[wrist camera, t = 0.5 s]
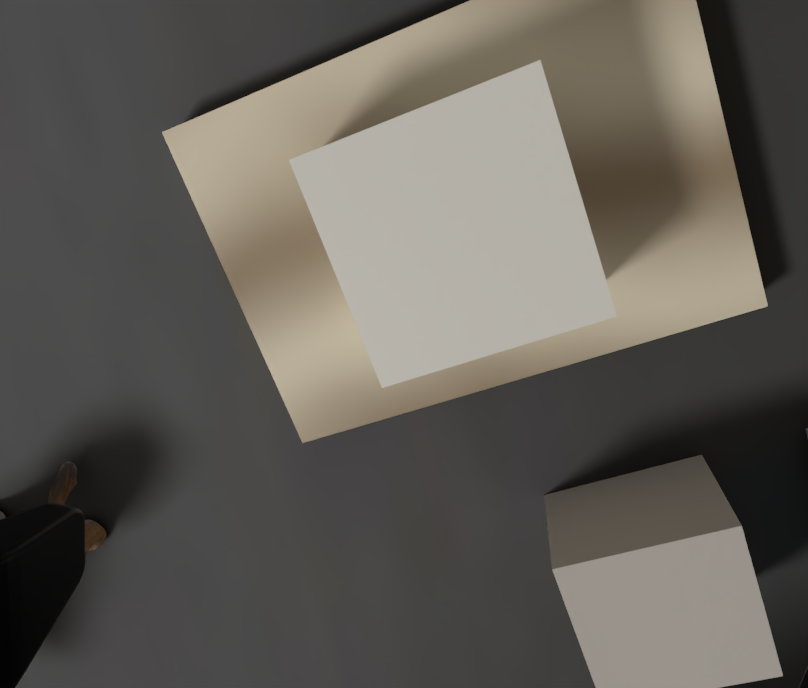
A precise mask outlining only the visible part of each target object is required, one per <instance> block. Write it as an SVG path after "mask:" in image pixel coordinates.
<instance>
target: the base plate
mask: <svg viewBox="0 0 808 688" xmlns="http://www.w3.org/2000/svg"><path fill="white" fill-rule="evenodd" d="M538 60H541V63H542V66H543V70H544V73H545V77H546V80H547V83H548V87H549V90H550V93H551V97H552V100H553V103H554V107H555V110H556V113H557V117H558V120H559V123H560V127H561V130H562V134H563V137H564V140H565V144H566V147H567V150H568V154H569V157H570V160H571V164H572V167H573V170H574V174H575V177H576V180H577V184H578V187H579V191H580V194H581V197H582V201H583V204H584V207H585V211H586V214H587V217H588V221H589V224H590V227H591V231H592V234H593V237H594V241H595V244H596V247H597V251H598V254H599V258H600V261H601V264H602V268H603V271H604V274H605V278H606V281H607V284H608V288H609V291H610V294H611V298H612V301H613V304H614V308H615V311H616V315H617V317H613V318H610V319H607V320H604V321H600V322H597V323H594V324H590V325H587V326H584V327H581V328H577V329H574V330H571V331H568V332H564V333H561V334H558V335H554V336H551V337H548V338H545V339H541V340H538V341H535V342H531V343H528V344H525V345H522V346H518V347H515V348H512V349H509V350H505V351H502V352H499V353H495V354H492V355H489V356H486V357H482V358H479V359H476V360H472V361H469V362H466V363H463V364H459V365H456V366H453V367H450V368H446V369H443V370H440V371H436V372H433V373H430V374H427V375H423V376H420V377H417V378H413V379H410V380H407V381H404V382H400V383H397V384H394V385H391V386H387V387H384V388H382V387H381V385H380V382H379V380H378V377H377V375H376V372H375V370H374V368H373V365H372V363H371V360H370V358H369V355H368V353H367V350H366V348H365V346H364V343H363V341H362V338H361V336H360V333H359V331H358V328H357V326H356V323H355V321H354V319H353V316H352V314H351V311H350V309H349V306H348V304H347V301H346V299H345V297H344V294H343V292H342V289H341V287H340V284H339V282H338V279H337V277H336V274H335V272H334V270H333V267H332V265H331V262H330V260H329V257H328V255H327V252H326V250H325V248H324V245H323V243H322V240H321V238H320V235H319V233H318V230H317V228H316V225H315V223H314V221H313V218H312V216H311V213H310V211H309V208H308V206H307V203H306V201H305V199H304V196H303V194H302V191H301V189H300V186H299V184H298V181H297V179H296V177H295V174H294V172H293V169H292V167H291V164H290V162H289V160H290V159H292V158H295V157H298V156H300V155H303V154H305V153H308V152H310V151H313V150H315V149H318V148H320V147H323V146H325V145H328V144H330V143H333V142H335V141H338V140H340V139H343V138H345V137H348V136H350V135H353V134H355V133H358V132H360V131H363V130H365V129H368V128H370V127H373V126H375V125H378V124H380V123H383V122H385V121H388V120H390V119H393V118H395V117H398V116H400V115H403V114H405V113H408V112H410V111H413V110H415V109H418V108H420V107H423V106H425V105H428V104H431V103H433V102H436V101H438V100H441V99H443V98H446V97H448V96H451V95H453V94H456V93H458V92H461V91H463V90H466V89H468V88H471V87H473V86H476V85H478V84H481V83H483V82H486V81H488V80H491V79H493V78H496V77H498V76H501V75H503V74H506V73H508V72H511V71H513V70H516V69H518V68H521V67H523V66H526V65H528V64H531V63H533V62H536V61H538ZM162 134H163V136H164V138H165V140H166V142H167V145H168V147H169V149H170V151H171V154H172V156H173V158H174V160H175V162H176V165H177V167H178V169H179V171H180V173H181V176H182V178H183V180H184V182H185V184H186V187H187V189H188V191H189V193H190V195H191V198H192V200H193V202H194V204H195V207H196V209H197V211H198V213H199V215H200V218H201V220H202V222H203V224H204V226H205V229H206V231H207V233H208V235H209V237H210V240H211V242H212V244H213V246H214V248H215V251H216V253H217V255H218V257H219V260H220V262H221V264H222V266H223V268H224V271H225V273H226V275H227V277H228V279H229V282H230V284H231V286H232V288H233V290H234V293H235V295H236V297H237V299H238V301H239V304H240V306H241V308H242V310H243V312H244V315H245V317H246V319H247V321H248V324H249V326H250V328H251V330H252V332H253V335H254V337H255V339H256V341H257V343H258V346H259V348H260V350H261V352H262V354H263V357H264V359H265V361H266V363H267V365H268V368H269V370H270V372H271V374H272V377H273V379H274V381H275V383H276V385H277V388H278V390H279V392H280V394H281V396H282V399H283V401H284V403H285V405H286V407H287V410H288V412H289V414H290V416H291V418H292V421H293V423H294V425H295V427H296V430H297V432H298V434H299V436H300V438H301V441H302V443H304V442H308V441H311V440H315V439H318V438H321V437H325V436H328V435H332V434H335V433H338V432H342V431H345V430H349V429H352V428H355V427H359V426H362V425H366V424H369V423H372V422H376V421H379V420H383V419H386V418H389V417H393V416H396V415H400V414H403V413H406V412H410V411H413V410H417V409H420V408H423V407H427V406H430V405H434V404H437V403H440V402H444V401H447V400H451V399H454V398H457V397H461V396H464V395H468V394H471V393H474V392H478V391H481V390H485V389H488V388H491V387H495V386H498V385H502V384H505V383H508V382H512V381H515V380H519V379H522V378H525V377H529V376H532V375H536V374H539V373H542V372H546V371H549V370H553V369H556V368H559V367H563V366H566V365H570V364H573V363H576V362H580V361H583V360H587V359H590V358H593V357H597V356H600V355H604V354H607V353H610V352H614V351H617V350H621V349H624V348H628V347H631V346H634V345H638V344H641V343H645V342H648V341H651V340H655V339H658V338H662V337H665V336H668V335H672V334H675V333H679V332H682V331H685V330H689V329H692V328H696V327H699V326H702V325H706V324H709V323H713V322H716V321H719V320H723V319H726V318H730V317H733V316H736V315H740V314H743V313H747V312H750V311H753V310H757V309H760V308H764V307H767V306H768V304H767V300H766V296H765V292H764V287H763V283H762V279H761V275H760V270H759V266H758V262H757V258H756V253H755V249H754V245H753V241H752V236H751V232H750V228H749V223H748V219H747V215H746V211H745V206H744V202H743V198H742V194H741V189H740V185H739V181H738V177H737V172H736V168H735V164H734V160H733V155H732V151H731V147H730V143H729V138H728V134H727V130H726V125H725V121H724V117H723V113H722V108H721V104H720V100H719V96H718V91H717V87H716V83H715V79H714V74H713V70H712V66H711V62H710V57H709V53H708V49H707V44H706V40H705V36H704V32H703V27H702V23H701V19H700V15H699V10H698V6H697V2H696V0H470V1H467V2H465V3H463V4H460V5H458V6H456V7H453V8H451V9H449V10H446V11H444V12H442V13H439V14H437V15H435V16H432V17H430V18H428V19H425V20H423V21H421V22H418V23H416V24H414V25H411V26H409V27H407V28H404V29H402V30H400V31H397V32H395V33H393V34H390V35H388V36H386V37H383V38H381V39H379V40H376V41H374V42H372V43H369V44H367V45H365V46H362V47H360V48H358V49H355V50H353V51H351V52H348V53H346V54H344V55H341V56H339V57H337V58H334V59H332V60H330V61H327V62H325V63H323V64H320V65H318V66H316V67H313V68H311V69H309V70H306V71H304V72H302V73H299V74H297V75H295V76H292V77H290V78H288V79H285V80H283V81H281V82H278V83H276V84H274V85H271V86H269V87H267V88H264V89H262V90H260V91H257V92H255V93H252V94H250V95H248V96H245V97H243V98H241V99H238V100H236V101H234V102H231V103H229V104H227V105H224V106H222V107H220V108H217V109H215V110H213V111H210V112H208V113H206V114H203V115H201V116H199V117H196V118H194V119H192V120H189V121H187V122H185V123H182V124H180V125H178V126H175V127H173V128H171V129H168V130H166V131H164V132H162Z"/></svg>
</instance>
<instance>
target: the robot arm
mask: <svg viewBox="0 0 808 688" xmlns="http://www.w3.org/2000/svg"><path fill="white" fill-rule="evenodd" d="M84 567H85V517H84V514H83V512H82V511H81V510H80V509H79V508H76V507H71V506H66V505H61V504H57V503H48V504H44V505H41V506H38V507H36V508H33V509H30V510H27V511H24V512H21V513H18V514H15V515H12V516H9V517H6V518H4V519H1V520H0V688H15V687H16V685H17V684H18V682H19V681H20V679H21V678H22V676H23V675H24V673H25V671H26V670H27V668H28V666H29V665H30V663H31V661H32V660H33V658H34V656H35V655H36V653H37V652H38V650H39V648H40V647H41V645H42V643H43V642H44V640H45V638H46V637H47V635H48V633H49V632H50V630H51V628H52V627H53V625H54V623H55V622H56V620H57V618H58V617H59V615H60V613H61V612H62V610H63V608H64V607H65V605H66V604H67V602H68V600H69V599H70V597H71V595H72V594H73V592H74V590H75V589H76V587H77V585H78V583H79V582H80V580H81V577H82V575H83V571H84ZM799 688H808V668H807V670H806V671H805V673H804V676H803V678H802V681H801V683H800V685H799Z"/></svg>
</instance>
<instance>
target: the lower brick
mask: <svg viewBox="0 0 808 688" xmlns="http://www.w3.org/2000/svg"><path fill="white" fill-rule="evenodd" d="M289 162H290V164H291V167H292V169H293V172H294V174H295V177H296V179H297V181H298V184H299V186H300V189H301V191H302V194H303V196H304V199H305V201H306V203H307V206H308V208H309V211H310V213H311V216H312V218H313V221H314V223H315V225H316V228H317V230H318V233H319V235H320V238H321V240H322V243H323V245H324V248H325V250H326V252H327V255H328V257H329V260H330V262H331V265H332V267H333V270H334V272H335V274H336V277H337V279H338V282H339V284H340V287H341V289H342V292H343V294H344V297H345V299H346V301H347V304H348V306H349V309H350V311H351V314H352V316H353V319H354V321H355V323H356V326H357V328H358V331H359V333H360V336H361V338H362V341H363V343H364V346H365V348H366V350H367V353H368V355H369V358H370V360H371V363H372V365H373V368H374V370H375V372H376V375H377V377H378V380H379V382H380V385H381V387H382V388H384V387H387V386H391V385H394V384H397V383H400V382H404V381H407V380H410V379H413V378H417V377H420V376H423V375H427V374H430V373H433V372H436V371H440V370H443V369H446V368H450V367H453V366H456V365H459V364H463V363H466V362H469V361H472V360H476V359H479V358H482V357H486V356H489V355H492V354H495V353H499V352H502V351H505V350H509V349H512V348H515V347H518V346H522V345H525V344H528V343H531V342H535V341H538V340H541V339H545V338H548V337H551V336H554V335H558V334H561V333H564V332H568V331H571V330H574V329H577V328H581V327H584V326H587V325H590V324H594V323H597V322H600V321H604V320H607V319H610V318H613V317H617V315H616V311H615V308H614V304H613V301H612V298H611V294H610V291H609V288H608V284H607V281H606V278H605V274H604V271H603V268H602V264H601V261H600V258H599V254H598V251H597V247H596V244H595V241H594V237H593V234H592V231H591V227H590V224H589V221H588V217H587V214H586V211H585V207H584V204H583V201H582V197H581V194H580V191H579V187H578V184H577V180H576V177H575V174H574V170H573V167H572V164H571V160H570V157H569V154H568V150H567V147H566V144H565V140H564V137H563V134H562V130H561V127H560V123H559V120H558V117H557V113H556V110H555V107H554V103H553V100H552V97H551V93H550V90H549V87H548V83H547V80H546V77H545V73H544V70H543V66H542V63H541V60H538V61H536V62H533V63H531V64H528V65H526V66H523V67H521V68H518V69H516V70H513V71H511V72H508V73H506V74H503V75H501V76H498V77H496V78H493V79H491V80H488V81H486V82H483V83H481V84H478V85H476V86H473V87H471V88H468V89H466V90H463V91H461V92H458V93H456V94H453V95H451V96H448V97H446V98H443V99H441V100H438V101H436V102H433V103H431V104H428V105H425V106H423V107H420V108H418V109H415V110H413V111H410V112H408V113H405V114H403V115H400V116H398V117H395V118H393V119H390V120H388V121H385V122H383V123H380V124H378V125H375V126H373V127H370V128H368V129H365V130H363V131H360V132H358V133H355V134H353V135H350V136H348V137H345V138H343V139H340V140H338V141H335V142H333V143H330V144H328V145H325V146H323V147H320V148H318V149H315V150H313V151H310V152H308V153H305V154H303V155H300V156H298V157H295V158H292V159H290V160H289Z"/></svg>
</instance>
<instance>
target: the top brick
mask: <svg viewBox="0 0 808 688" xmlns="http://www.w3.org/2000/svg"><path fill="white" fill-rule="evenodd" d="M544 499H545V508H546V517H547V526H548V535H549V545H550V554H551V563H552V570H553V573H554V576H555V578H556V581H557V584H558V587H559V589H560V592H561V595H562V597H563V600H564V603H565V606H566V608H567V611H568V614H569V616H570V619H571V622H572V625H573V627H574V630H575V633H576V635H577V638H578V641H579V644H580V646H581V649H582V652H583V654H584V657H585V660H586V663H587V665H588V668H589V671H590V673H591V676H592V679H593V682H594V684H595V687H596V688H720V687H726V686H731V685H737V684H742V683H748V682H753V681H759V680H765V679H770V678H776V677H781V676H783V674H782V670H781V666H780V663H779V659H778V655H777V652H776V648H775V644H774V641H773V637H772V634H771V630H770V626H769V623H768V619H767V615H766V612H765V608H764V604H763V601H762V597H761V594H760V590H759V586H758V583H757V579H756V575H755V572H754V568H753V565H752V561H751V557H750V554H749V550H748V546H747V543H746V539H745V535H744V532H743V528H742V525H741V523H740V522H739V520H738V518H737V516H736V515H735V513H734V511H733V509H732V507H731V506H730V504H729V502H728V500H727V499H726V497H725V495H724V493H723V491H722V490H721V488H720V486H719V484H718V483H717V481H716V479H715V477H714V475H713V474H712V472H711V470H710V468H709V467H708V465H707V463H706V461H705V459H704V458H703V456H702V455H698V456H695V457H691V458H687V459H683V460H679V461H675V462H671V463H667V464H663V465H659V466H656V467H652V468H648V469H644V470H640V471H636V472H632V473H628V474H624V475H620V476H617V477H613V478H609V479H605V480H601V481H597V482H593V483H589V484H585V485H581V486H578V487H574V488H570V489H566V490H562V491H558V492H554V493H550V494H546V495H544Z"/></svg>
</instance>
